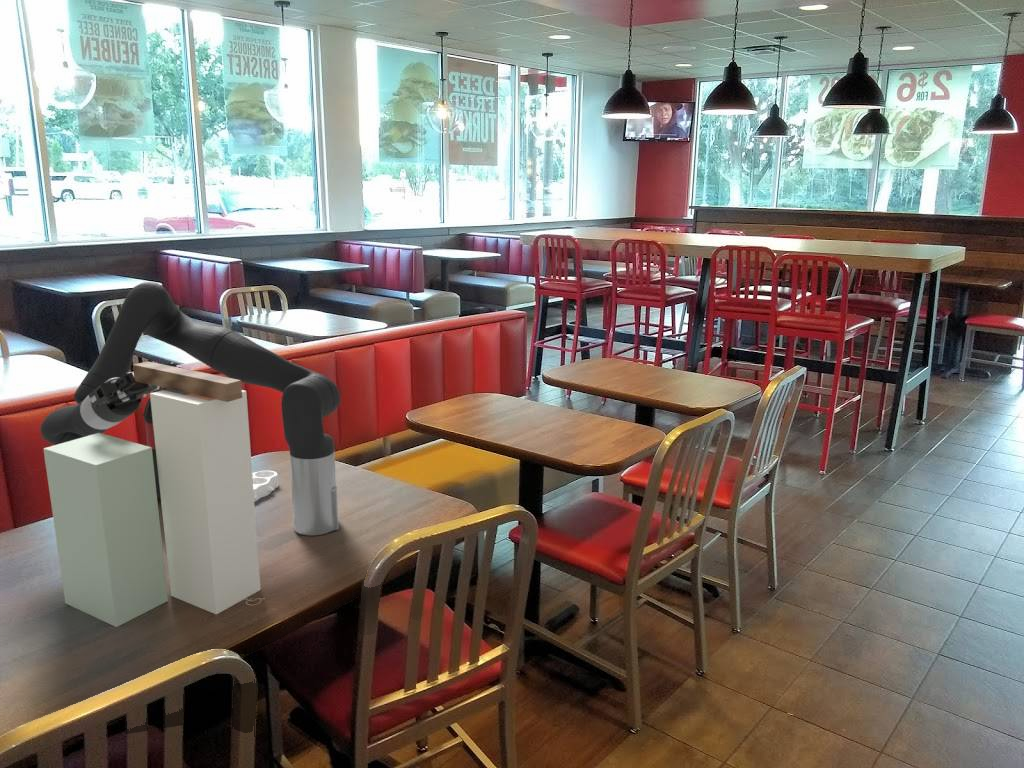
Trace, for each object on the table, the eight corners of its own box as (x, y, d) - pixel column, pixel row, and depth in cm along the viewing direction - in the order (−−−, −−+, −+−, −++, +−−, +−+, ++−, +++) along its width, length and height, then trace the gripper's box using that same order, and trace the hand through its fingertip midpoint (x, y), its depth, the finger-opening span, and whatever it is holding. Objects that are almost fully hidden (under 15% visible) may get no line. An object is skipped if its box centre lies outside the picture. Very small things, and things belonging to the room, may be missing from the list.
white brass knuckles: (246, 477, 201) (292, 487, 195) (190, 503, 185) (239, 515, 179) (245, 464, 200) (291, 474, 194) (189, 489, 184) (237, 501, 178)
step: (65, 603, 141) (43, 448, 133) (117, 579, 149) (99, 432, 142) (116, 627, 134) (96, 465, 126) (167, 600, 142) (151, 447, 135)
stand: (171, 595, 144) (149, 392, 134) (216, 572, 152) (199, 380, 142) (216, 614, 138) (197, 404, 128) (260, 589, 146) (246, 390, 137)
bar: (134, 381, 141) (132, 364, 141) (149, 377, 144) (147, 361, 143) (227, 401, 130) (226, 384, 129) (242, 397, 132) (240, 380, 131)
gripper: (65, 394, 143) (107, 360, 134) (136, 378, 155) (179, 345, 146) (82, 432, 143) (126, 400, 134) (152, 413, 155) (196, 382, 146)
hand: (154, 372), depth 140 cm, fingers open, 8 cm apart
